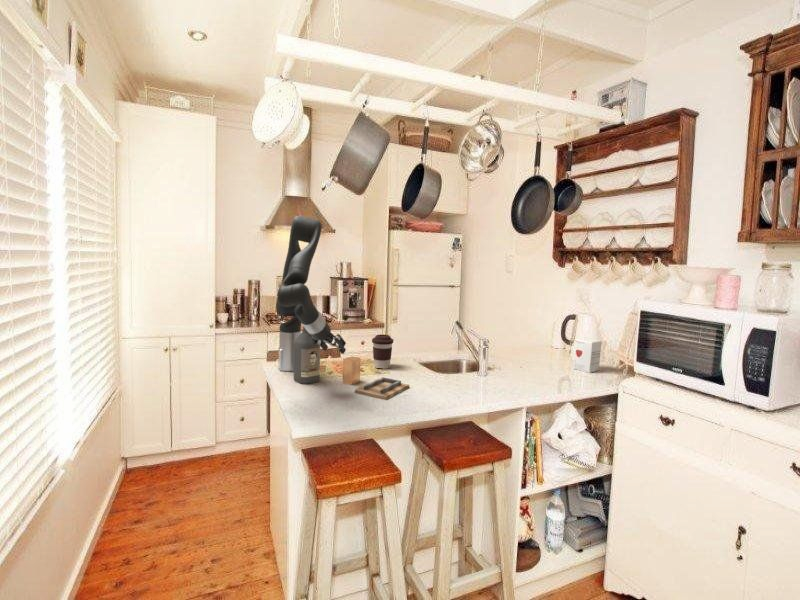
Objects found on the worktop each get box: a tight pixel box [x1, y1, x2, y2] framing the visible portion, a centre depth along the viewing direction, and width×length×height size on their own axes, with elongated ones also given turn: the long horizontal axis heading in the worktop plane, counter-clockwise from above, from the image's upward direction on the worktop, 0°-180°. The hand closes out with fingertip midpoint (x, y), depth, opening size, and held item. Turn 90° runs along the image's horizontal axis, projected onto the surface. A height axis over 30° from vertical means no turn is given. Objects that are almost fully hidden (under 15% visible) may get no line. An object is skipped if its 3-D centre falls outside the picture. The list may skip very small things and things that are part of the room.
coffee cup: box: [371, 333, 394, 370], centre depth 206 cm, size 10×10×15 cm
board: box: [354, 376, 410, 401], centre depth 175 cm, size 18×14×3 cm
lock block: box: [342, 356, 362, 386], centre depth 183 cm, size 6×4×10 cm
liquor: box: [293, 325, 321, 385], centre depth 181 cm, size 9×9×30 cm
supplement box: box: [572, 337, 603, 374], centre depth 217 cm, size 9×9×15 cm
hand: (334, 350), depth 171 cm, fingers open, 8 cm apart
